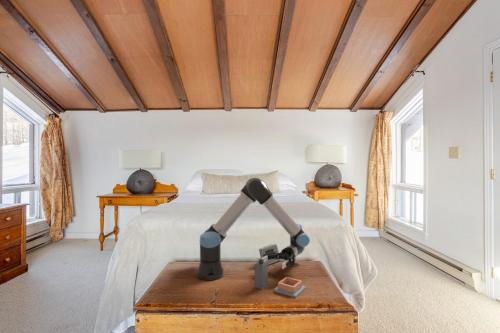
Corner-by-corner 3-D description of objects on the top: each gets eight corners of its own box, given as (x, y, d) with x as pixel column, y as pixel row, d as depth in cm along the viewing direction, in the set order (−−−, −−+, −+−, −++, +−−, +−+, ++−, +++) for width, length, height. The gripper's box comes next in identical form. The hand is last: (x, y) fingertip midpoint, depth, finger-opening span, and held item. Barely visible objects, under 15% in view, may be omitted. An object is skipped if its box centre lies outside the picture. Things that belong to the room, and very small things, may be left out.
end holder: (273, 291, 137) (273, 283, 137) (285, 282, 146) (285, 275, 146) (295, 297, 130) (295, 289, 130) (306, 288, 140) (306, 280, 139)
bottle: (254, 287, 141) (254, 260, 141) (259, 283, 146) (259, 257, 145) (262, 289, 139) (262, 261, 138) (267, 285, 143) (267, 259, 142)
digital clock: (263, 267, 168) (263, 250, 168) (255, 263, 176) (255, 246, 176) (283, 262, 177) (283, 245, 177) (275, 258, 185) (275, 242, 185)
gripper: (308, 263, 160) (292, 275, 143) (271, 255, 175) (252, 266, 157) (308, 250, 160) (291, 261, 143) (271, 243, 174) (252, 253, 157)
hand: (271, 263), depth 150 cm, fingers open, 13 cm apart
